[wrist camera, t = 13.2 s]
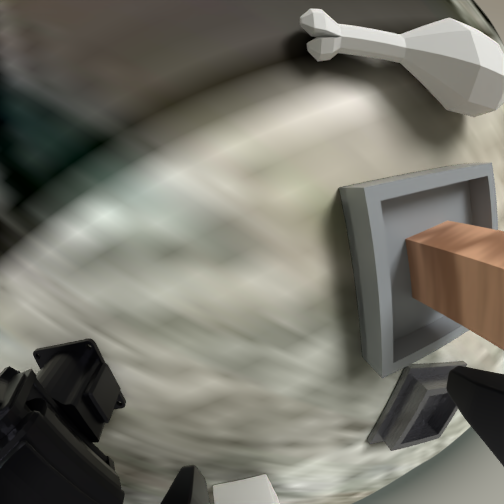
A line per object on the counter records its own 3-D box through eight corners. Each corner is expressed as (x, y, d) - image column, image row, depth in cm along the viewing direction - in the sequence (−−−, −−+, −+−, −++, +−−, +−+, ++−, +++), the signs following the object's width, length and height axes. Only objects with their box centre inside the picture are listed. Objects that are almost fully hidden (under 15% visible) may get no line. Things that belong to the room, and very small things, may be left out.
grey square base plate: (366, 439, 25) (379, 458, 22) (406, 364, 24) (425, 381, 21) (426, 427, 27) (440, 442, 24) (462, 361, 26) (480, 373, 23)
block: (412, 297, 21) (524, 363, 10) (405, 238, 20) (539, 281, 8) (452, 275, 22) (559, 321, 10) (447, 220, 20) (568, 247, 9)
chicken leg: (293, -2, 17) (306, -33, 10) (473, 38, 16) (529, 43, 9) (295, 87, 22) (310, 95, 15) (469, 113, 21) (523, 138, 14)
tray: (362, 356, 23) (382, 378, 19) (338, 187, 20) (363, 187, 16) (471, 301, 24) (494, 312, 21) (464, 163, 21) (491, 162, 17)
